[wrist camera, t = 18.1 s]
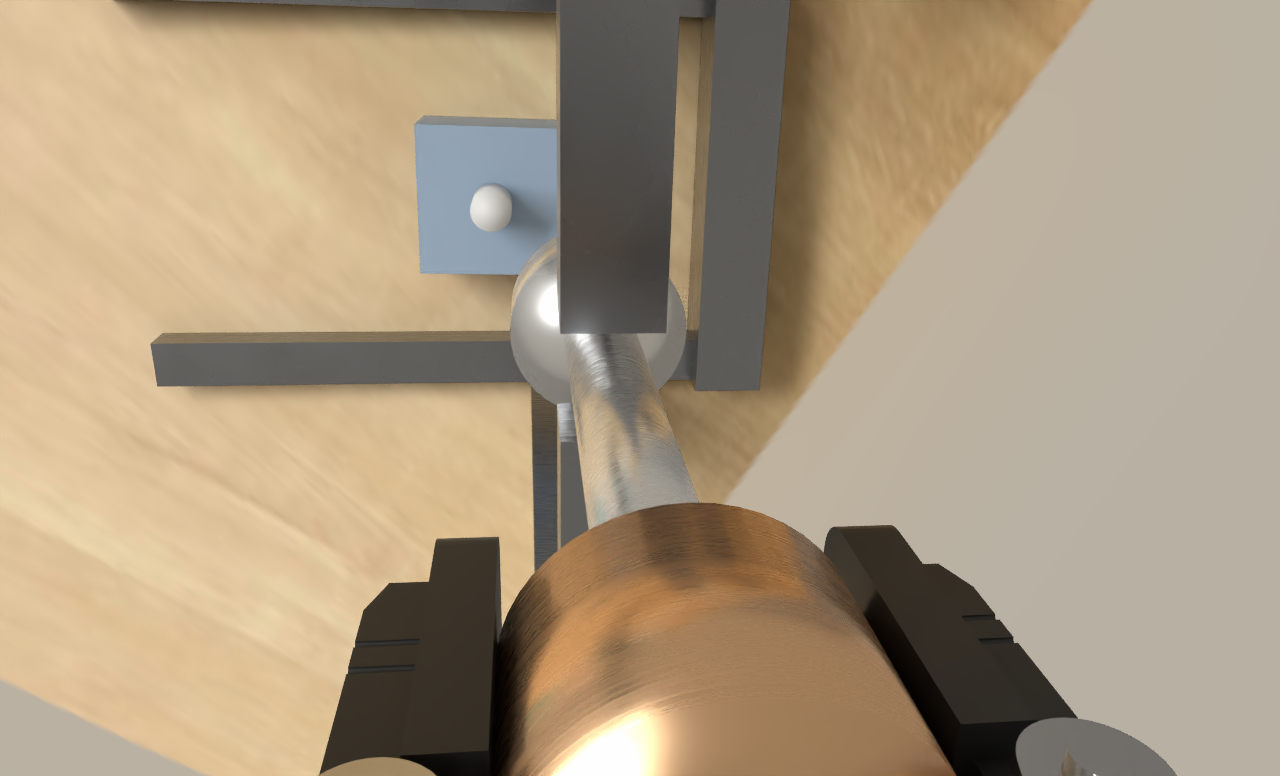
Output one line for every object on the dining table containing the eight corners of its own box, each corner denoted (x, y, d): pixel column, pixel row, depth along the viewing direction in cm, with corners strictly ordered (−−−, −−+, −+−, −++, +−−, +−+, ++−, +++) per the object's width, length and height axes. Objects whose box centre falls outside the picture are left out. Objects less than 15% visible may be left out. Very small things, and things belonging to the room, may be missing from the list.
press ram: (509, 227, 22) (473, 712, 7) (677, 228, 23) (1021, 684, 7) (512, 385, 24) (490, 1099, 8) (670, 383, 24) (943, 1054, 8)
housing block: (424, 115, 41) (408, 129, 35) (563, 119, 42) (569, 134, 36) (429, 251, 43) (415, 285, 37) (561, 253, 44) (566, 287, 38)
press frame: (92, -115, 36) (-769, -393, 12) (778, -83, 39) (1179, -255, 15) (175, 415, 44) (-246, 886, 20) (742, 405, 47) (970, 803, 23)
